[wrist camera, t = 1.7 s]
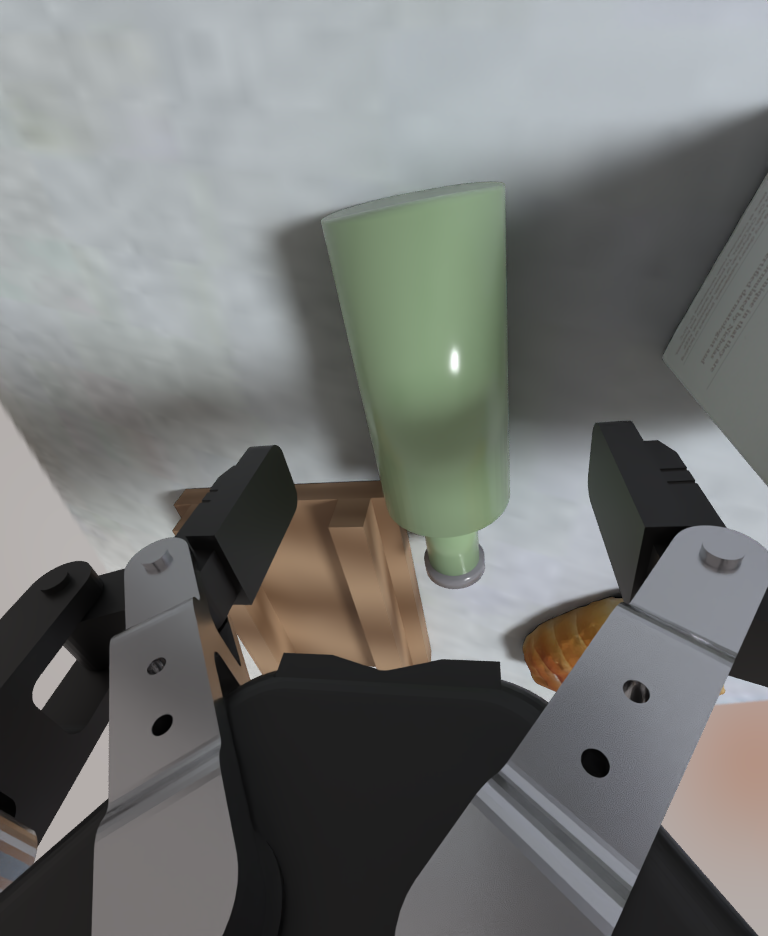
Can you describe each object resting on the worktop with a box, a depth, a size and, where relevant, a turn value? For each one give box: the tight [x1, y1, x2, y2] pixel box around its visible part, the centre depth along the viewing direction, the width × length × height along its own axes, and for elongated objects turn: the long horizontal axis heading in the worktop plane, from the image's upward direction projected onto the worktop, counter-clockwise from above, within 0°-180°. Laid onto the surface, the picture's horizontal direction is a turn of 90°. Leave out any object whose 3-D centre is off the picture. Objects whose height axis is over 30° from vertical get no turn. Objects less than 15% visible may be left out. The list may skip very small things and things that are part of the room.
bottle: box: [321, 182, 510, 589], centre depth 16 cm, size 14×5×5 cm, turn 10°
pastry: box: [523, 597, 725, 695], centre depth 24 cm, size 9×7×4 cm
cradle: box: [172, 481, 431, 675], centre depth 25 cm, size 14×11×3 cm
